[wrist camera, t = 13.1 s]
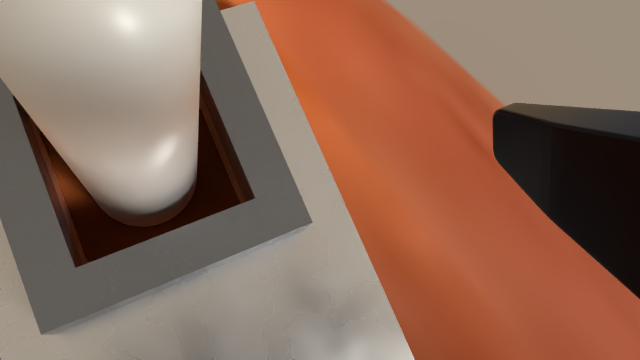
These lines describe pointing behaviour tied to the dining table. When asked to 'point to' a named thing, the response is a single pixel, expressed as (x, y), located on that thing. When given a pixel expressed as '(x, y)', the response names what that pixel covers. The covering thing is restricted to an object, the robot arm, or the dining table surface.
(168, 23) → the white tapered cylinder
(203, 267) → the jig
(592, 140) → the robot arm
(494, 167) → the dining table surface
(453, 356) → the dining table surface
